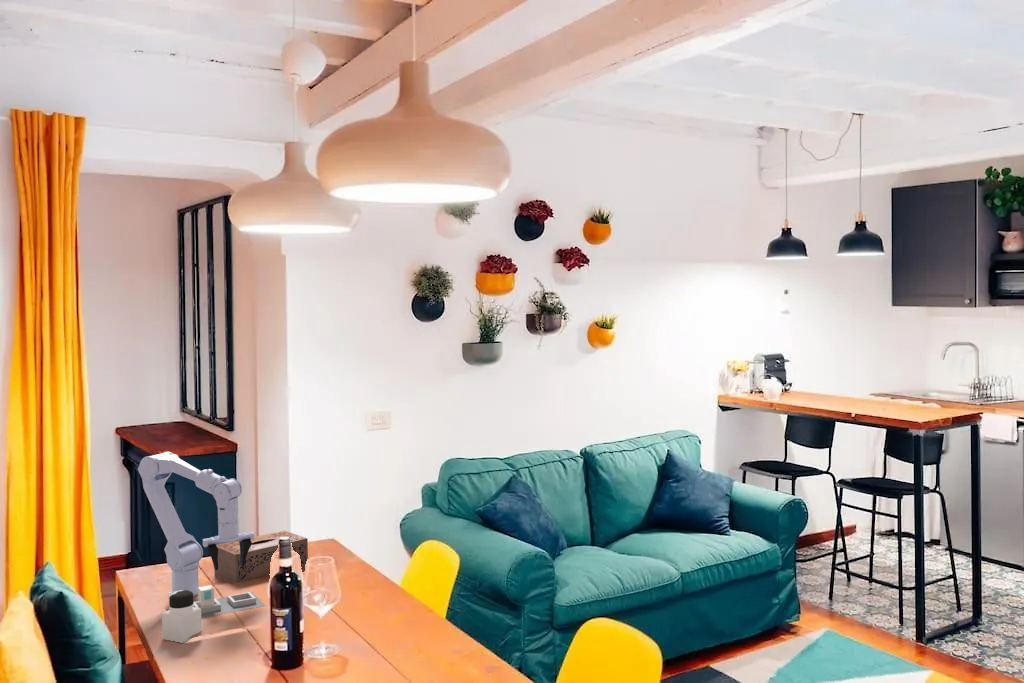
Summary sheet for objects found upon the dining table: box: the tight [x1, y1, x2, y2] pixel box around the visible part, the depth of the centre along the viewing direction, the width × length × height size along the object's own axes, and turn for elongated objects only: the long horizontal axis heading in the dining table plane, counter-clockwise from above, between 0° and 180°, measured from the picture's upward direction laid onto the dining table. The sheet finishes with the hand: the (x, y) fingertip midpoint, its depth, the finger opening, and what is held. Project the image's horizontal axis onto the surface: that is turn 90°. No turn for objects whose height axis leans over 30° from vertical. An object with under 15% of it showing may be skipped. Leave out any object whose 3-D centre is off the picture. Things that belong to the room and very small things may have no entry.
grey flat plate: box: [193, 591, 267, 619], centre depth 261 cm, size 14×20×2 cm
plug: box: [197, 584, 215, 608], centre depth 258 cm, size 4×4×6 cm
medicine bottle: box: [161, 590, 203, 644], centre depth 239 cm, size 7×7×12 cm
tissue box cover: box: [213, 530, 309, 584], centre depth 296 cm, size 26×14×10 cm, turn 135°
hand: (229, 567), depth 267 cm, fingers open, 7 cm apart
